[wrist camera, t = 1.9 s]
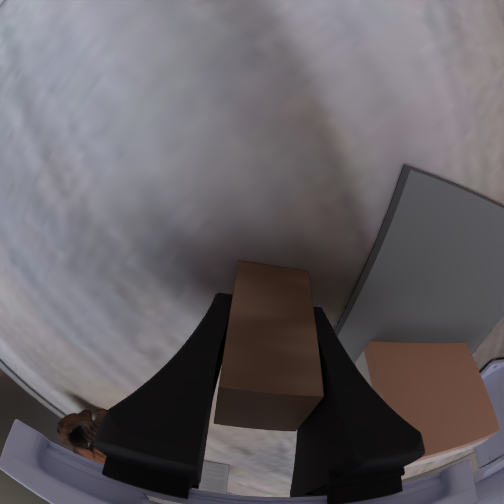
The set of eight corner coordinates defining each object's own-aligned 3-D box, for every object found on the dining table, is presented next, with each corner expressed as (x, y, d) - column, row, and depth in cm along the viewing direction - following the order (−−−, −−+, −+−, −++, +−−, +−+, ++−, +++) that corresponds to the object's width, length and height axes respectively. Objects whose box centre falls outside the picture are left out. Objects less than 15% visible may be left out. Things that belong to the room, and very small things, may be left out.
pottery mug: (168, 434, 27) (147, 485, 24) (126, 404, 33) (108, 449, 29) (82, 410, 19) (60, 473, 16) (54, 374, 25) (35, 427, 21)
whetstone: (466, 342, 14) (500, 430, 8) (450, 361, 15) (478, 445, 9) (369, 341, 14) (395, 462, 8) (355, 362, 15) (372, 474, 9)
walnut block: (307, 271, 12) (323, 396, 7) (291, 318, 14) (295, 431, 9) (238, 260, 12) (218, 386, 7) (231, 309, 14) (213, 423, 9)
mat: (544, 229, 10) (550, 234, 9) (456, 362, 16) (459, 368, 16) (404, 164, 9) (410, 169, 9) (316, 361, 16) (317, 370, 15)
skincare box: (221, 470, 35) (214, 533, 25) (195, 466, 35) (186, 529, 25) (230, 464, 32) (223, 535, 22) (201, 459, 32) (191, 531, 22)
